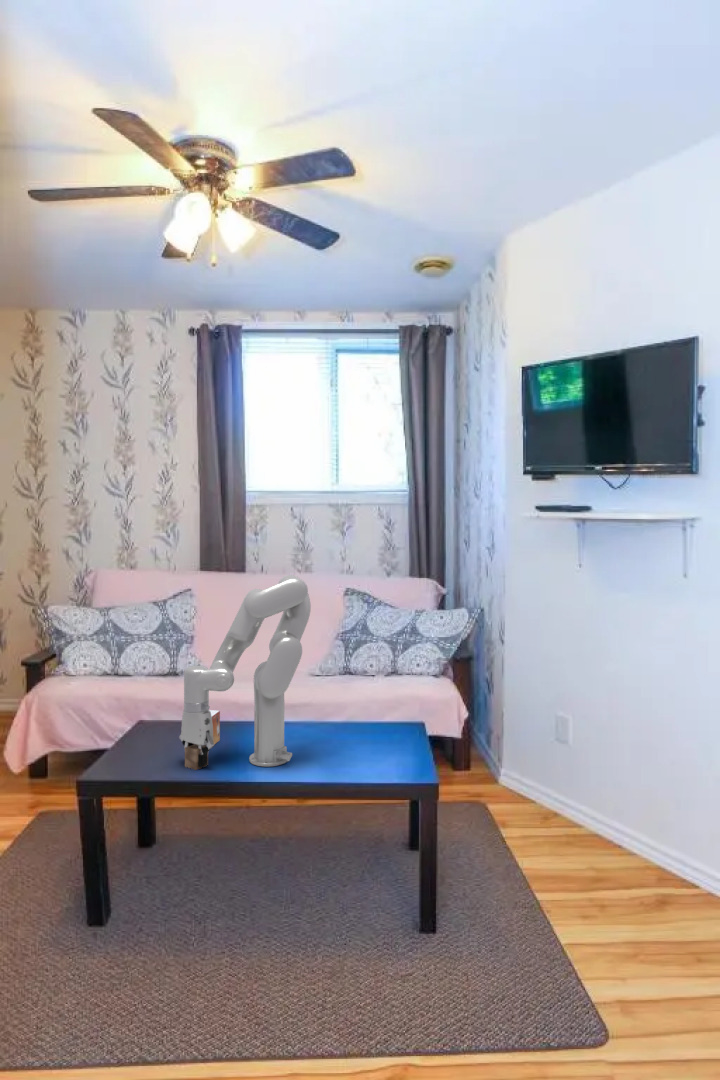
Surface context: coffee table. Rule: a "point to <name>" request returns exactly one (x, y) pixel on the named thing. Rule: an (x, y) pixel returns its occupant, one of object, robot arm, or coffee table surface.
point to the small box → (215, 725)
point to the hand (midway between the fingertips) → (196, 763)
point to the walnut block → (192, 757)
